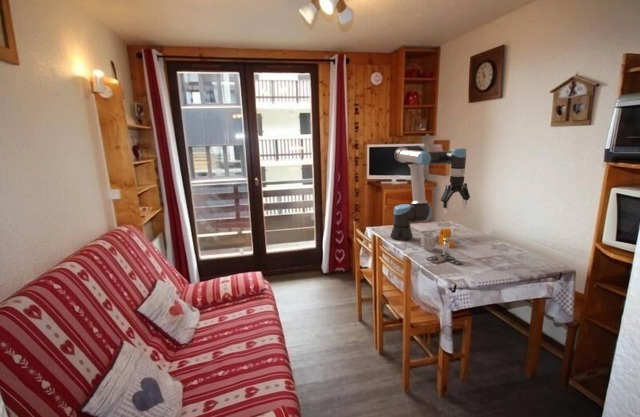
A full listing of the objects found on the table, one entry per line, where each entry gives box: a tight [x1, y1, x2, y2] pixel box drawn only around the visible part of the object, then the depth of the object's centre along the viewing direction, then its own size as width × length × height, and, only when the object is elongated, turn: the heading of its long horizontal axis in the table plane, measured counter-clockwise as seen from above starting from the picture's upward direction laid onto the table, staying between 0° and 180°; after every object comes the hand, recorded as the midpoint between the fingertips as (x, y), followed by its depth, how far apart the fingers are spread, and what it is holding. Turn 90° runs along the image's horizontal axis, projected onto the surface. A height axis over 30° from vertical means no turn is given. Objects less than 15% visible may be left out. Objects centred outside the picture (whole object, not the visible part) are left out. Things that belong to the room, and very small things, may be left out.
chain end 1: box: [426, 253, 456, 265], centre depth 182 cm, size 15×7×2 cm, turn 115°
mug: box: [420, 233, 437, 252], centre depth 201 cm, size 11×8×10 cm
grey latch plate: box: [445, 258, 467, 267], centre depth 181 cm, size 15×7×2 cm, turn 25°
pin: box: [442, 237, 452, 258], centre depth 183 cm, size 4×4×13 cm
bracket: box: [437, 228, 457, 248], centre depth 206 cm, size 11×7×12 cm, turn 3°
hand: (454, 211), depth 187 cm, fingers open, 13 cm apart
